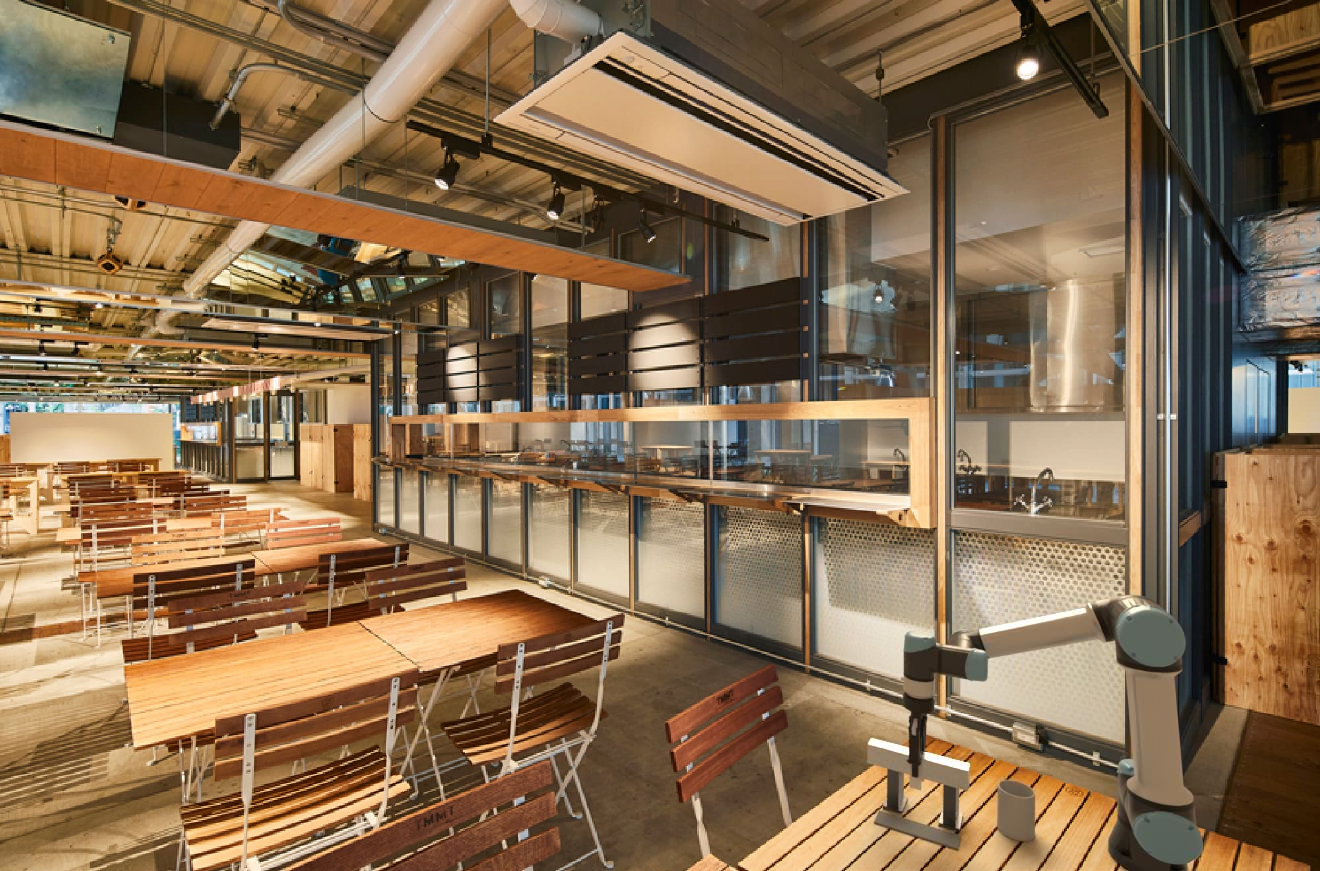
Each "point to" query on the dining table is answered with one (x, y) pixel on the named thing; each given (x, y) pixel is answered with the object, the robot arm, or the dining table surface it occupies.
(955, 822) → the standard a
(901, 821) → the plank
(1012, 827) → the grey oval cup
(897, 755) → the rail
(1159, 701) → the robot arm
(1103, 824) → the dining table surface
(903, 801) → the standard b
